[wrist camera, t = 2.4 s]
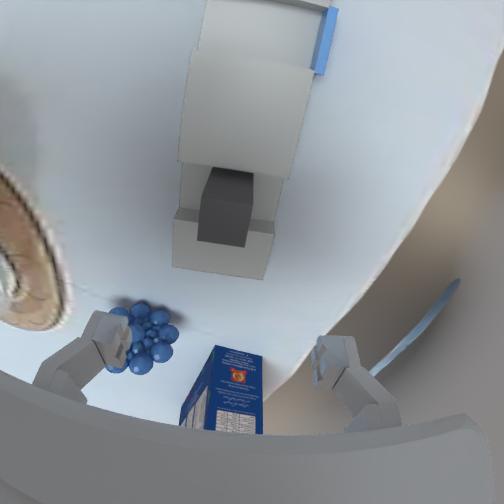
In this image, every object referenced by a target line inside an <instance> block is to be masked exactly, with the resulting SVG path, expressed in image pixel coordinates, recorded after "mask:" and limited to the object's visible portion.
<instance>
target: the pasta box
mask: <svg viewBox="0 0 504 504" xmlns="http://www.w3.org/2000/svg"><path fill="white" fill-rule="evenodd" d="M179 426H183V427H189V428H197V429H204V430H213V431H222V432H233V433H247V434H263V398H262V356H259V355H254V354H250V353H246V352H242V351H237V350H233V349H229V348H225V347H222V346H218V345H215V347H214V348H213V350H212V352H211V354H210V356H209V358H208V360H207V361H206V363H205V365H204V367H203V369H202V371H201V372H200V374H199V376H198V378H197V380H196V382H195V383H194V385H193V387H192V389H191V391H190V393H189V394H188V396H187V398H186V400H185V402H184V403H183V405H182V407H181V414H180V420H179Z"/></svg>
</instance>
